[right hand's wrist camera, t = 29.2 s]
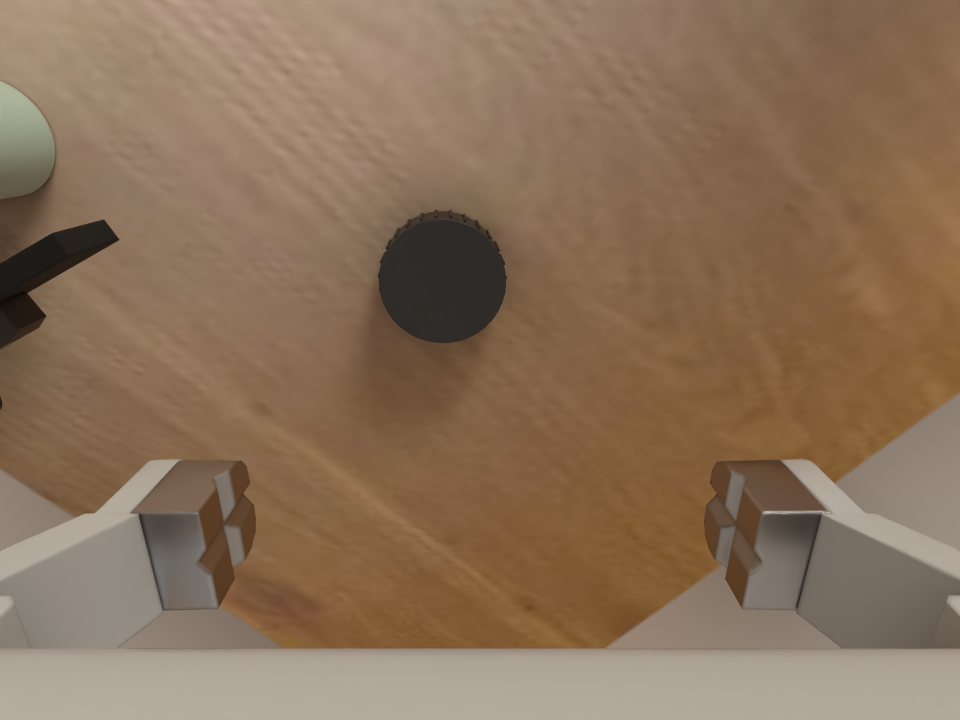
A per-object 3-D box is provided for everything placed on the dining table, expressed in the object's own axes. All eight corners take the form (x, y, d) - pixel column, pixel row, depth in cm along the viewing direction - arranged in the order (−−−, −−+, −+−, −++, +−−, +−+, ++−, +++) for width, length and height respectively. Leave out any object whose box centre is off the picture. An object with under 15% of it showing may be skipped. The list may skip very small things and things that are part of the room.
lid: (446, 182, 24) (446, 187, 22) (526, 274, 26) (534, 287, 24) (357, 266, 25) (349, 279, 23) (440, 349, 27) (439, 368, 25)
